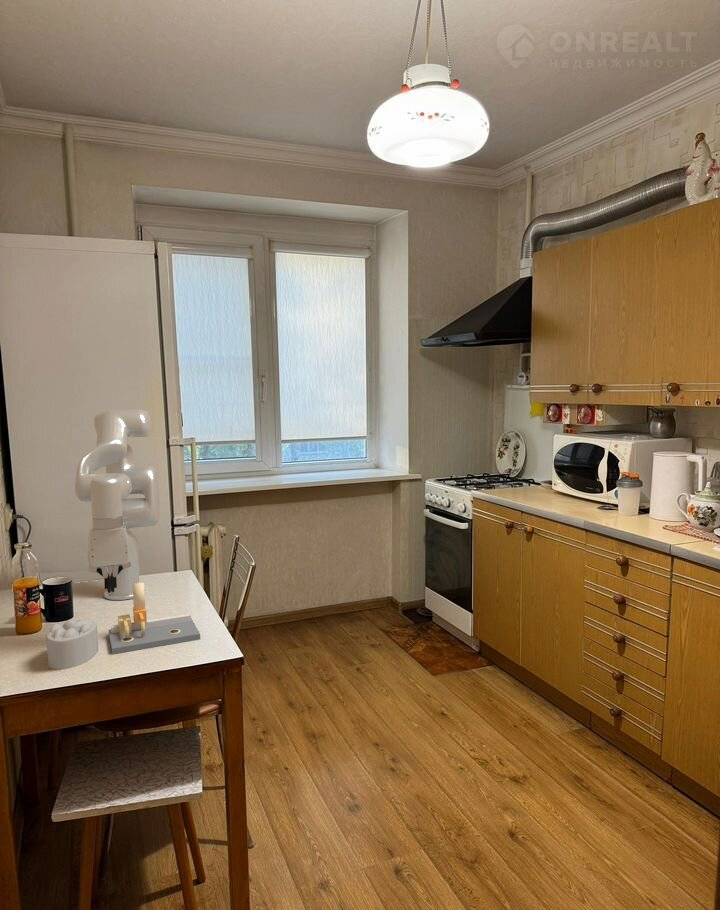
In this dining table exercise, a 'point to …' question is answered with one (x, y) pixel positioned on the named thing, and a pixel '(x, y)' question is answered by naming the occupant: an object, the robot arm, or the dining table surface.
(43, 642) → the dining table surface
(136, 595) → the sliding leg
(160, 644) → the plate
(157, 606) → the dining table surface
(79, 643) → the lumpy-topped squat cylinder
